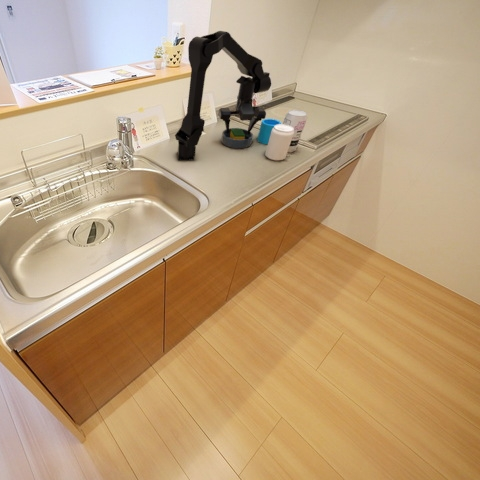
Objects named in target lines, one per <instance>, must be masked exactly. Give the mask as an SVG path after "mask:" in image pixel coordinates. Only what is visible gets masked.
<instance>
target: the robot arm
mask: <svg viewBox="0 0 480 480" xmlns="http://www.w3.org/2000/svg"><path fill="white" fill-rule="evenodd" d="M187 49H188V50H187V51H188V53H187V54H188V62H189V66H190V71H191V72H190V81H189V90H188V99H187V107H186V108H187V109H186V114H185V115H184V117H183V118H182V121H181V124H180V125H181V126H180V128H179V129H178V130H177V132H176V133H175V135H174V138H175V140H176V141H177V152H176V155H177V160H178V161H195V157H196V150H197V147H196V146H198V144H199V142H200V139H201V137H202V135H203V132H204V131H205V129H204V127H205V124H206V123H205V120H204V118H202V116H201V109H202V102H203V96H204V95H203V94H204V87H205V80H206V73H207V70H208V69H209V67H210V65H211V63H212V61H213V57H214V55H216V54H218V53H220V52H221V51H223V52H224V53H225V54H226V55H227V56H228V57H229V58H231V60H233V61H234V62H235V63H236V66H237V69H238V71H239V72H240V73H241V74H242V75H241V76H240V77H239V78H237V80H236V82H235V83H237V84H239V88H238V94H237V95H236V104H235V107H234V109H235V110H231V109H230V108H229V107H220V108H219V109H218V112H217V113H218V114H217V115H218V117H219V119H220V120H222V121H223V122H224V126H225V130H226V131H227V134H228V133H229V128H230V124H231V123H230V122H231V119H230V118H231V117H238V116H239V120H240V121H242V122H243V121H248V122H249V123H248V128H247V130H248V134H249V133H250V132H251V131H252V130H253V129H254V127H255V125H256V124H257V123H258V122H260V121H261V122H262V120H264V119H266V117H267V111H266V110H265V109H264V108H263V107H260V106H254V105H253V102H254V99H253V96H254V94H260V93H264V92H267V91H269V90H270V89H271V86H272V78H271V77H270V75H271V74H270V72H267V71H264V68H263V61H262V60H261V59H260V58H258V57H256V56H254V55H252V54H249V52H247V50H246V49H244V47H242V46H241V45H240V44H239V43H238V41H236V40H235V38H233V37H232V35H231V33H230V32H229V31H224V30H218V31H215V32H213V33H210V34H207V35H206V34H205V35H202V36H194V37H192V39H191V40H190V41H189V43H188V48H187ZM243 75H245V76H243ZM246 76H247V77H246Z"/></svg>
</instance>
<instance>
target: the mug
mask: <svg viewBox="0 0 480 480" xmlns="http://www.w3.org/2000/svg"><path fill="white" fill-rule="evenodd" d="M277 124H282V122H281V121H280V120H278V119H273V118H265V119H262V120H261V122H260V125H259V131H258V135H257V138H256V139H257V142H258V143H260V144H263V145H268V142H269V138H270V135H271V131H272V129H273V128H274V126H275V125H277Z"/></svg>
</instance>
